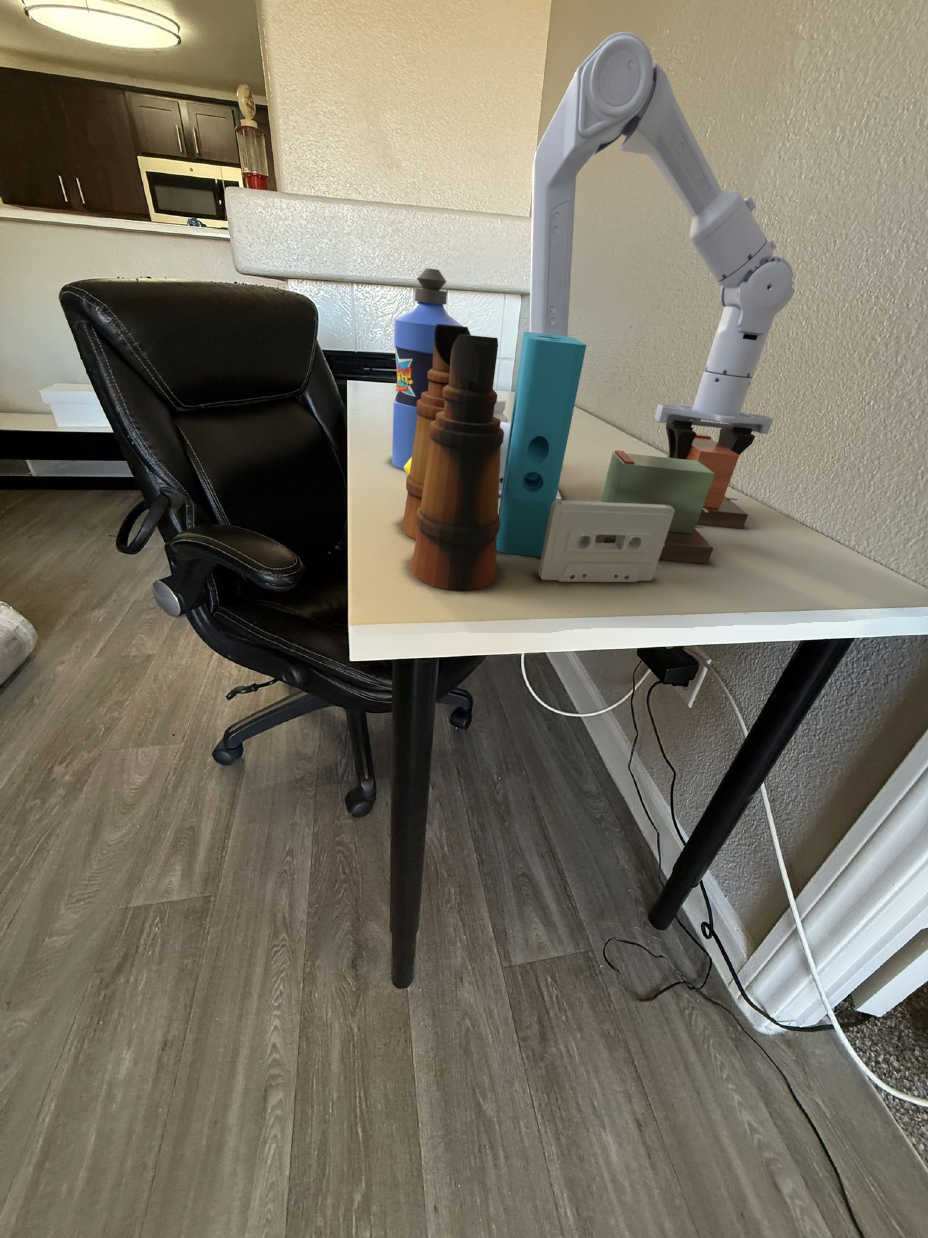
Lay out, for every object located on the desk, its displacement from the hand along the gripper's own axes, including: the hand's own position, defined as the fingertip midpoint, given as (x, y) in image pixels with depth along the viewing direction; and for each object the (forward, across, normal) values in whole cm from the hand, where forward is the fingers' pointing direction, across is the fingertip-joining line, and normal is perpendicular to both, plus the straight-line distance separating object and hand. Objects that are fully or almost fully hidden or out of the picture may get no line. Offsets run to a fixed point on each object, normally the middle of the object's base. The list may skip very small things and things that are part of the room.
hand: (692, 481), depth 72 cm
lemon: (+4, -36, -3) cm, 36 cm away
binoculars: (+4, -33, -21) cm, 40 cm away
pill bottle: (+4, -28, +13) cm, 31 cm away
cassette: (+4, -18, -25) cm, 31 cm away
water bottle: (+4, -38, +9) cm, 39 cm away
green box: (+2, -10, -13) cm, 17 cm away
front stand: (+4, -10, -13) cm, 17 cm away
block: (+4, -25, -17) cm, 31 cm away
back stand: (+4, 0, 0) cm, 4 cm away
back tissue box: (+2, 0, 0) cm, 2 cm away
